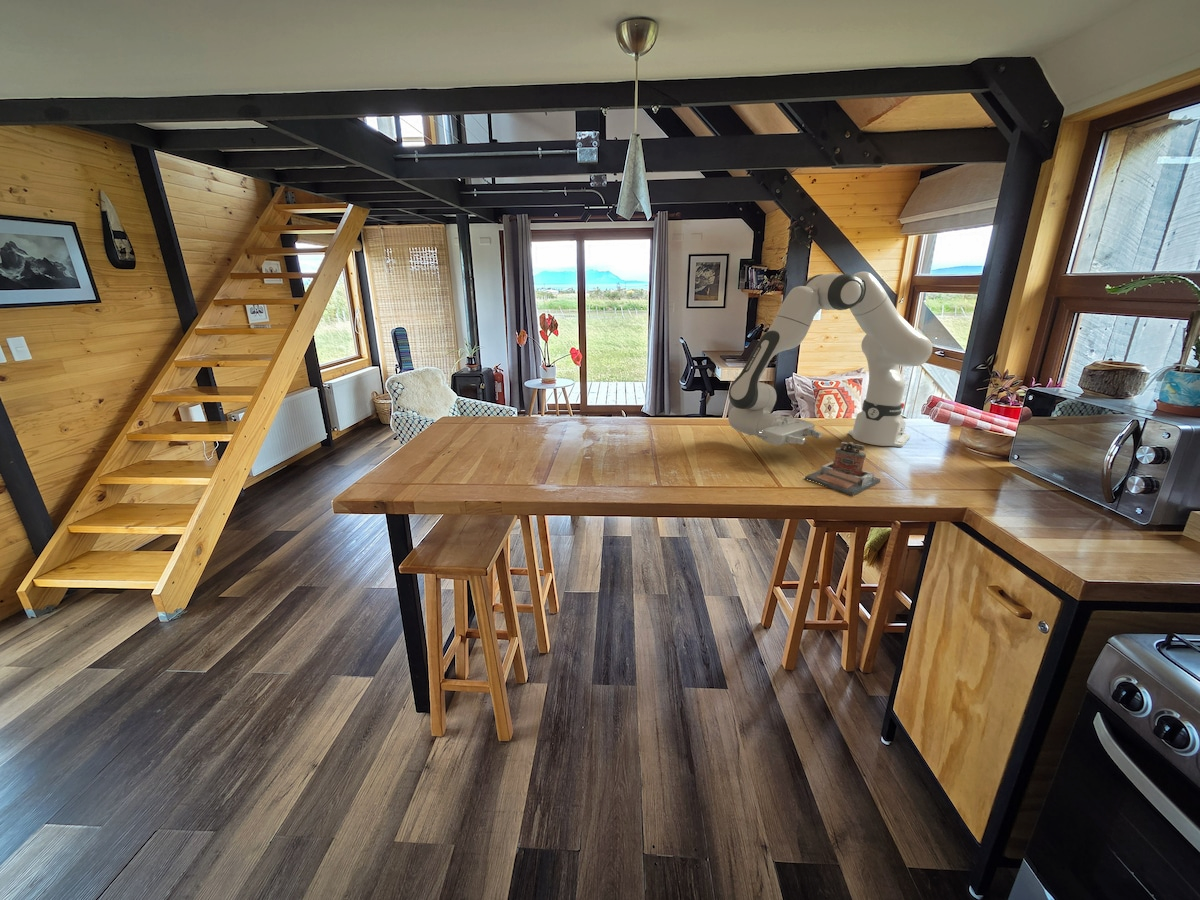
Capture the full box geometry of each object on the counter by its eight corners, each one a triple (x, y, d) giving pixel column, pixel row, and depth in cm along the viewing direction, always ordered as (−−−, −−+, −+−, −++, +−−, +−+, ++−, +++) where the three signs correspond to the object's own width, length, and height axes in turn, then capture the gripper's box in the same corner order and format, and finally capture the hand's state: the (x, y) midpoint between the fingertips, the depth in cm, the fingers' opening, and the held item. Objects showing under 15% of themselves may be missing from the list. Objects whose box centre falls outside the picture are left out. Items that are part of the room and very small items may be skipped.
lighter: (829, 473, 142) (835, 441, 139) (832, 470, 145) (839, 438, 141) (859, 480, 137) (866, 447, 134) (862, 477, 140) (869, 444, 137)
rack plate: (832, 467, 150) (834, 458, 149) (879, 482, 139) (882, 472, 138) (804, 479, 140) (806, 469, 139) (852, 496, 130) (855, 486, 129)
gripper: (754, 424, 151) (794, 435, 140) (791, 413, 162) (830, 423, 152) (752, 443, 153) (791, 455, 143) (788, 431, 165) (827, 442, 154)
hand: (812, 438), depth 147 cm, fingers open, 8 cm apart
